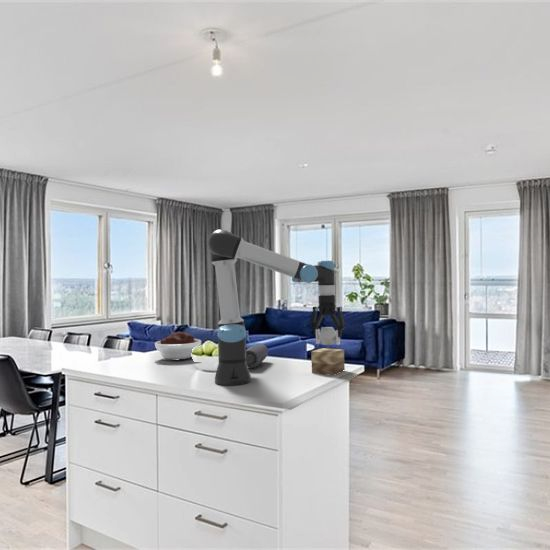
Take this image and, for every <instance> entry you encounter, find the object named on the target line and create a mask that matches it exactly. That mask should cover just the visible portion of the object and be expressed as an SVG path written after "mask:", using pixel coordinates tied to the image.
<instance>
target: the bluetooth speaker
mask: <svg viewBox="0 0 550 550" xmlns="http://www.w3.org/2000/svg"><path fill="white" fill-rule="evenodd" d="M268 353H269V349H268V347H267V346H266V345H265V344H263V343H255V344H253V345H252V346H250V347H248V348H246V363H247V366H248V369H249V368H251V369H255V368H257V367H259V366H260V365H261V363H262V362H263V361H264V360H265V359H266V358H267V357H268Z"/></svg>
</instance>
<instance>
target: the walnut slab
mask: <svg viewBox="0 0 550 550" xmlns="http://www.w3.org/2000/svg"><path fill="white" fill-rule="evenodd" d="M345 369H346V368H345V360H344V361H342V362H339V363H336V364H334V365H333V364H322V363H311V373H312V374H316V373H319V375H326V374H330V376H335V374H336V375H338V374H340V373H339V372H341V371H343V370H345ZM345 371H346V370H345ZM343 372H344V371H343ZM337 373H338V374H337ZM341 373H342V372H341Z"/></svg>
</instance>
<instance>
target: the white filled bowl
mask: <svg viewBox="0 0 550 550" xmlns="http://www.w3.org/2000/svg"><path fill="white" fill-rule="evenodd" d="M154 346H155V348H156V350H157V351H158V352H159V353H160V356H161V357H162V358H163V359H165V360H171V359H184V360H186V359H189V358H192V357H191V353H192V349H193V348H194V347H196V346H200V347H201V346H202V340H201V339H197V338H195V337H194V336H193V335H192V334H190V333H189V332H183V331H177V332H176V331H175V332H171V334H170V335H169V336H166V338H162V339H160V340H158V341H156V342H154Z"/></svg>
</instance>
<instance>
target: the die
mask: <svg viewBox="0 0 550 550" xmlns="http://www.w3.org/2000/svg"><path fill="white" fill-rule="evenodd" d="M318 338H319V340H320V344H321V345H322V346H333V345H335V344H336V330H335V329H334V327H333V326H325V327H324V326H321V327H320V334H319V337H318Z"/></svg>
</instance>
